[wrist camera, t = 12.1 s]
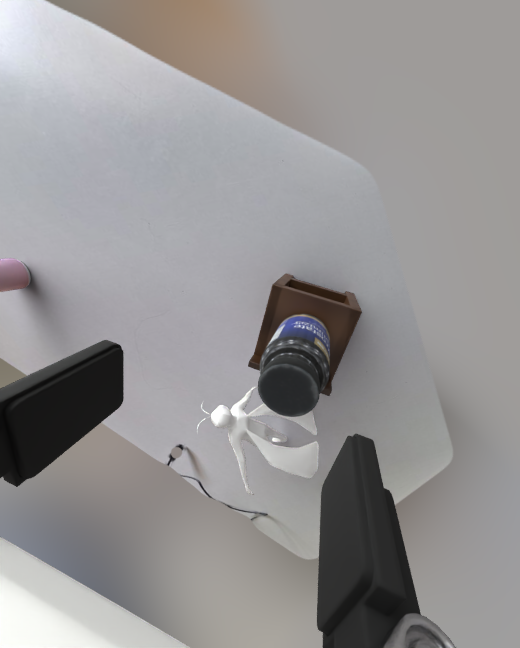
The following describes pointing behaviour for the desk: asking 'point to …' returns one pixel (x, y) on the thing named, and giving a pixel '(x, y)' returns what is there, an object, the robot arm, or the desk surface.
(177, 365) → the desk surface
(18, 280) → the beverage can
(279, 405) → the pill bottle
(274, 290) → the shelf
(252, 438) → the figurine
